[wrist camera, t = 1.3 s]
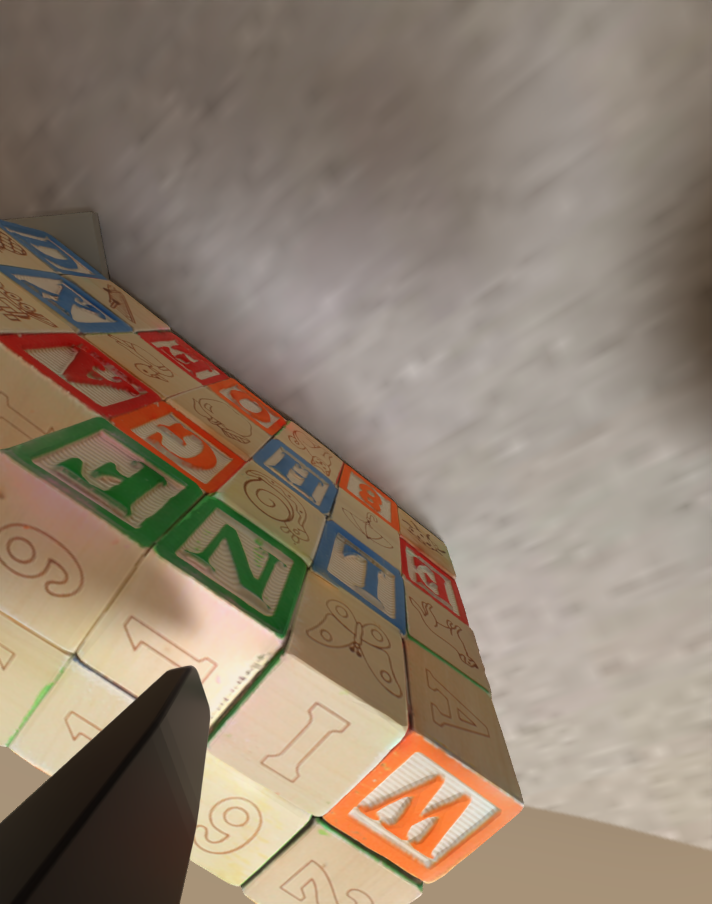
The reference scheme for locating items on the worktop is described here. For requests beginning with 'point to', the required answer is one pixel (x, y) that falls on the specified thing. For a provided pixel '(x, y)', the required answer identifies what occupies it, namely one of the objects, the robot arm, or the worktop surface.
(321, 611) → the stack of blocks
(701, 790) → the worktop surface
